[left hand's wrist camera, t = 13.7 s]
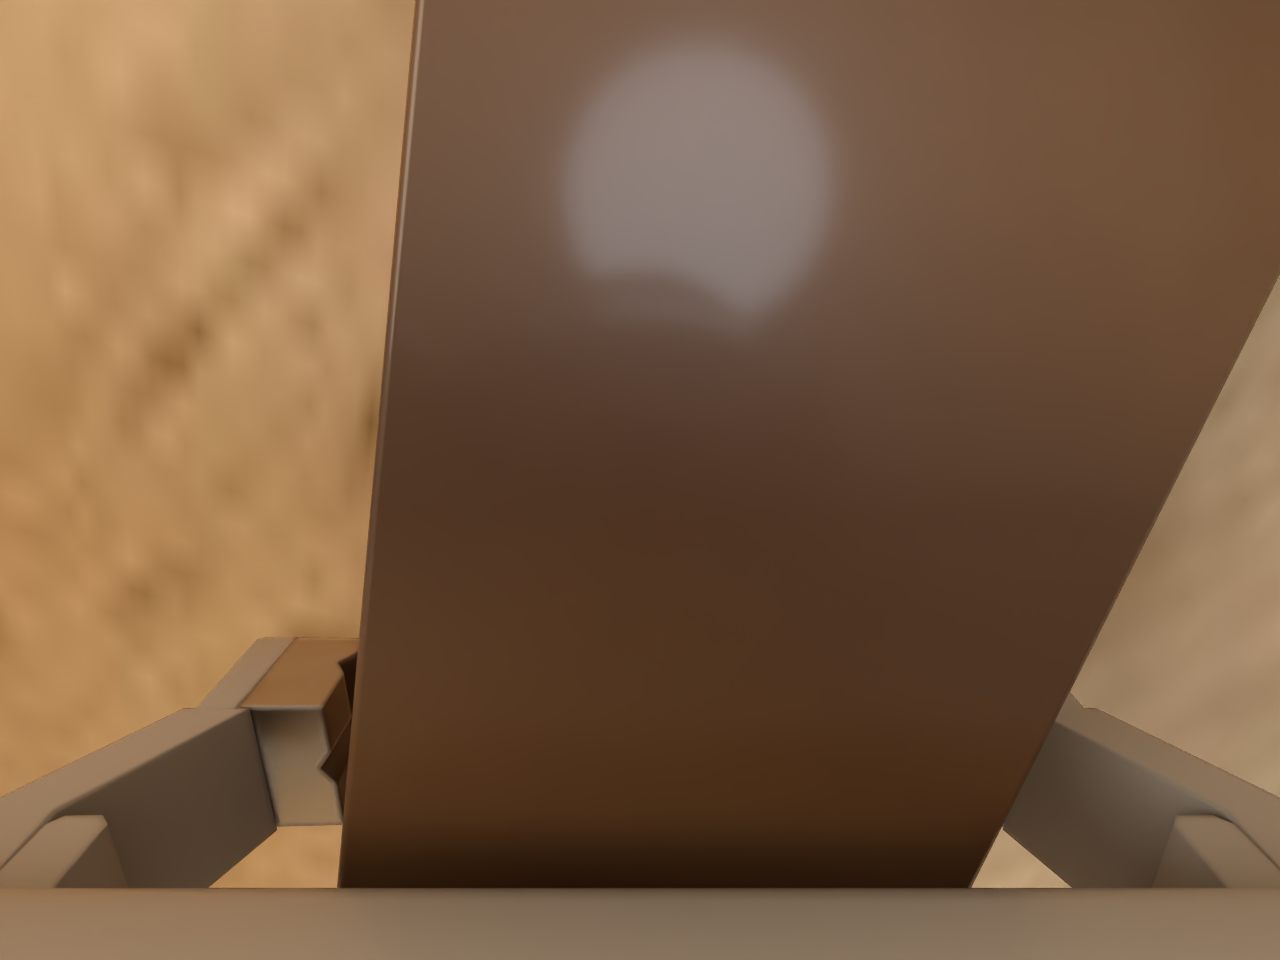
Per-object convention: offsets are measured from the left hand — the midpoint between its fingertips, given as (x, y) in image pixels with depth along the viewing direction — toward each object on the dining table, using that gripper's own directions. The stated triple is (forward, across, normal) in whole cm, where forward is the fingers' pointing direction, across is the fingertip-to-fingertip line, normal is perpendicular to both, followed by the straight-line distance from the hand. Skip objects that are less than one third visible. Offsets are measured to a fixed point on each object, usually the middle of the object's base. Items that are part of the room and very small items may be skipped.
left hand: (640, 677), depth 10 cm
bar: (+4, -2, -9) cm, 10 cm away
